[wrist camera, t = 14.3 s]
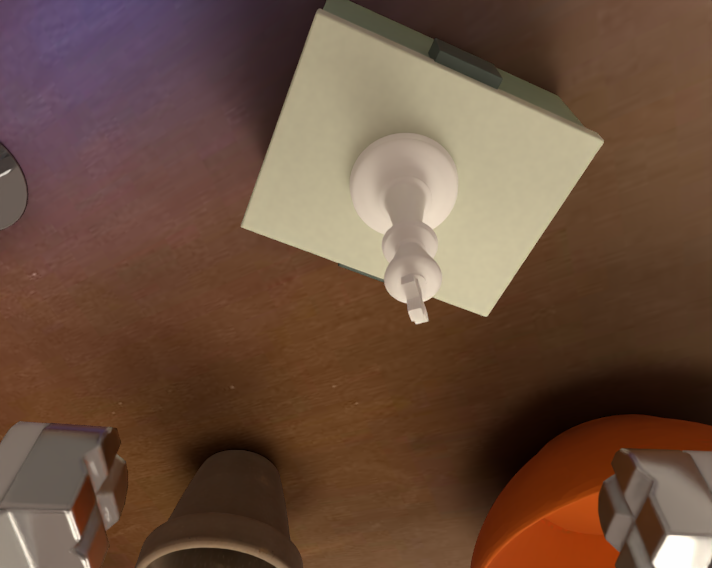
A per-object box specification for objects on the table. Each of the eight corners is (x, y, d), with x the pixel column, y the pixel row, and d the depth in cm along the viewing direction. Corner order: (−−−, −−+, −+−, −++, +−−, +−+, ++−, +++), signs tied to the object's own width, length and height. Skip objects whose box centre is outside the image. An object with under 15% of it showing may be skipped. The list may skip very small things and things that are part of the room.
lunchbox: (259, 177, 36) (237, 236, 30) (331, -25, 30) (320, -2, 24) (465, 256, 38) (482, 324, 32) (569, 85, 32) (612, 130, 26)
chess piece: (442, 117, 26) (474, 228, 18) (469, 215, 29) (508, 353, 20) (334, 152, 27) (316, 272, 19) (369, 244, 30) (367, 386, 21)
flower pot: (340, 462, 49) (334, 584, 40) (272, 534, 54) (254, 655, 46) (208, 403, 46) (171, 522, 37) (150, 486, 51) (106, 606, 43)
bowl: (802, 321, 40) (914, 437, 32) (770, 547, 53) (843, 671, 45) (424, 391, 44) (436, 510, 36) (481, 584, 58) (499, 704, 49)
